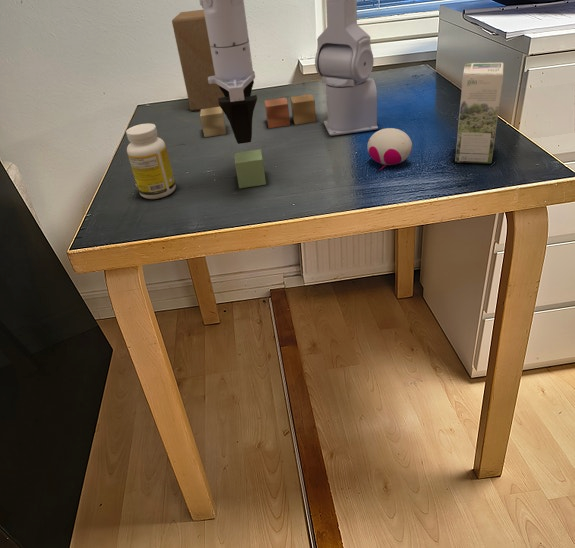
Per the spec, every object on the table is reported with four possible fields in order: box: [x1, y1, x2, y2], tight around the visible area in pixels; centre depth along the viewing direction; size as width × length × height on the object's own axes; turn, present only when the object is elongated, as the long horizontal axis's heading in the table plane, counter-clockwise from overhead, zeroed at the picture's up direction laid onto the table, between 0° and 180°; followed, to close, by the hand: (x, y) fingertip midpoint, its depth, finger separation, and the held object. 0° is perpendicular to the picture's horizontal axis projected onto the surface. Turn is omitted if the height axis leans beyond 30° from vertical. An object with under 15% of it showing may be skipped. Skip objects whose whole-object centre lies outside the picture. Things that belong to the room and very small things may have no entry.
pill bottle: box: [125, 123, 177, 200], centre depth 85 cm, size 6×6×11 cm
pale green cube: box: [233, 149, 267, 189], centre depth 86 cm, size 4×4×4 cm
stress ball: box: [366, 127, 413, 171], centre depth 86 cm, size 8×8×7 cm
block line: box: [199, 93, 317, 138], centre depth 108 cm, size 24×4×4 cm, turn 96°
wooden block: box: [171, 9, 225, 112], centre depth 121 cm, size 10×10×20 cm
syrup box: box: [454, 62, 505, 165], centre depth 82 cm, size 6×6×14 cm
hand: (243, 133), depth 83 cm, fingers open, 7 cm apart
